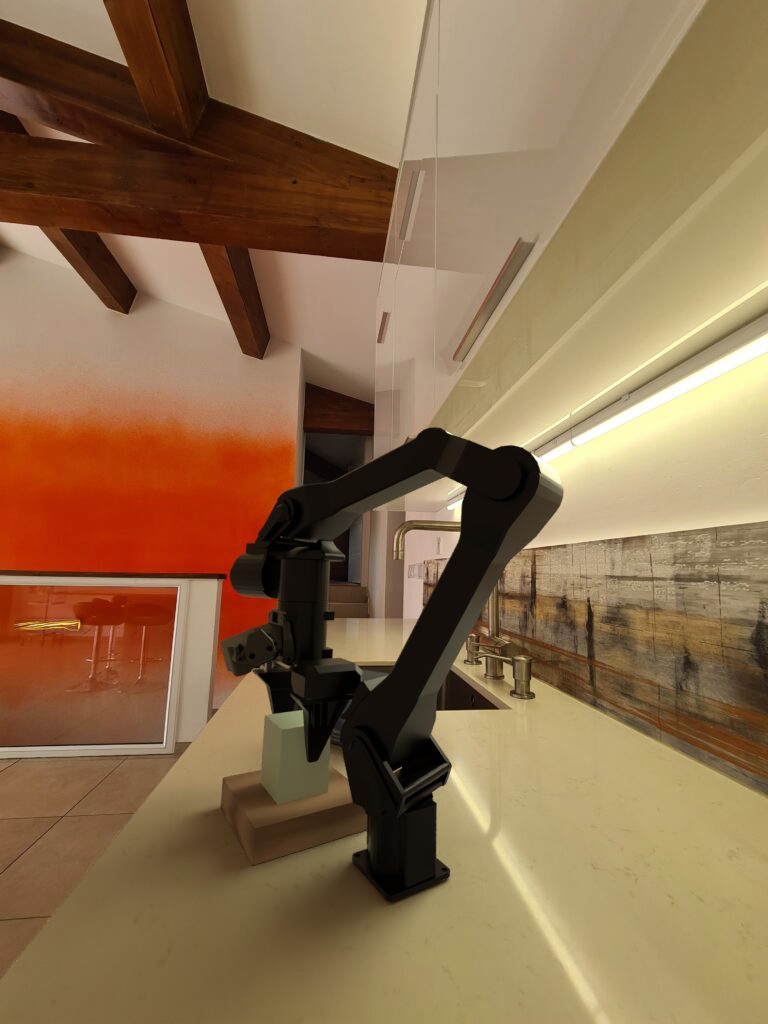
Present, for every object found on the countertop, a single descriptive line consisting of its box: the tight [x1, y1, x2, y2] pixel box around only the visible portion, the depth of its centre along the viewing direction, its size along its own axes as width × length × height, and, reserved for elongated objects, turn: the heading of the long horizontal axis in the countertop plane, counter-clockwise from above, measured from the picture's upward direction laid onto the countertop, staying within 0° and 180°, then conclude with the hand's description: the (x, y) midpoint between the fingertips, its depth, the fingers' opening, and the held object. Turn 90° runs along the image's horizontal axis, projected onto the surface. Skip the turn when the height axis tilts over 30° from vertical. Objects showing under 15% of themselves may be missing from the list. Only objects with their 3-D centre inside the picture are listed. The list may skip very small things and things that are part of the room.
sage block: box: [260, 709, 331, 804], centre depth 49 cm, size 6×6×7 cm
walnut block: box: [220, 763, 367, 866], centre depth 48 cm, size 12×12×3 cm
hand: (295, 746), depth 49 cm, fingers open, 9 cm apart
